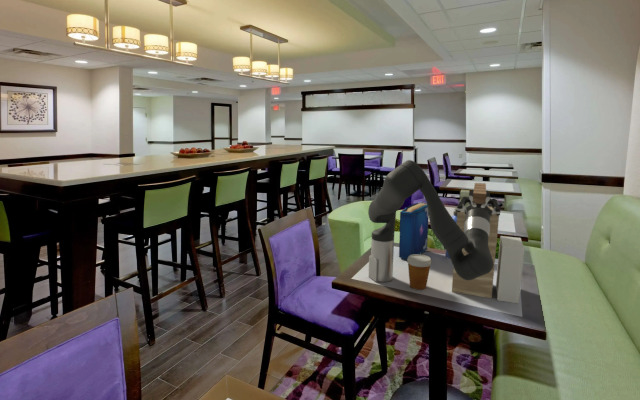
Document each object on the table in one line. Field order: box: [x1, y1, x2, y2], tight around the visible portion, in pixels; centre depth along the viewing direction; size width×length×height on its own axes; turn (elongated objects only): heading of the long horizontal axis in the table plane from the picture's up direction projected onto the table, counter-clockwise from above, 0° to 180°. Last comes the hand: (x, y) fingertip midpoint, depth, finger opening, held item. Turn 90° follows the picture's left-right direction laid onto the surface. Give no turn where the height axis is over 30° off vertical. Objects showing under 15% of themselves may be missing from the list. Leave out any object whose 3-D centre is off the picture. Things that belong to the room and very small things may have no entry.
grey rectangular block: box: [495, 235, 525, 304], centre depth 139 cm, size 15×7×20 cm, turn 157°
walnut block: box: [473, 182, 487, 204], centre depth 136 cm, size 26×4×4 cm, turn 156°
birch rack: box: [451, 189, 500, 299], centre depth 143 cm, size 14×14×39 cm
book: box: [398, 202, 429, 261], centre depth 183 cm, size 22×7×25 cm, turn 143°
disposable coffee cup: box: [406, 254, 433, 291], centre depth 147 cm, size 10×10×12 cm
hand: (479, 192), depth 130 cm, fingers closed on walnut block, 4 cm apart
